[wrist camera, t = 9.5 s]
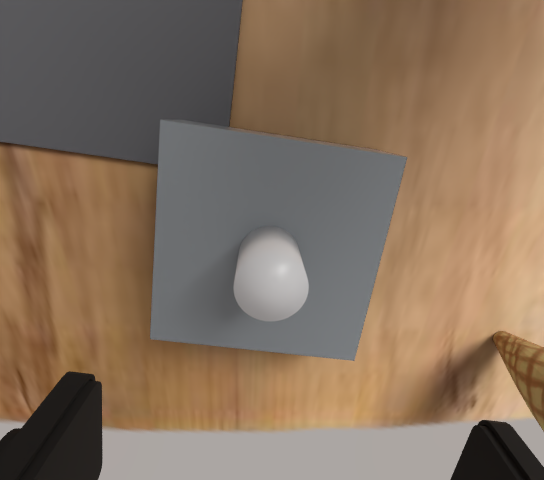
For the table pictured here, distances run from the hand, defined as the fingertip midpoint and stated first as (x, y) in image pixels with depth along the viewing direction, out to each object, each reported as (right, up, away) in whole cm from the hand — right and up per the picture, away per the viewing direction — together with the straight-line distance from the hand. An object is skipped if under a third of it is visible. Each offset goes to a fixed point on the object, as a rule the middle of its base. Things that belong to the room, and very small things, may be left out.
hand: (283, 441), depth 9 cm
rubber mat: (-12, +20, +16) cm, 28 cm away
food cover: (-1, +6, +20) cm, 21 cm away
